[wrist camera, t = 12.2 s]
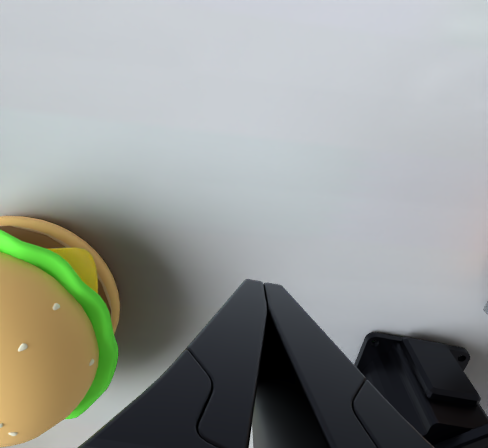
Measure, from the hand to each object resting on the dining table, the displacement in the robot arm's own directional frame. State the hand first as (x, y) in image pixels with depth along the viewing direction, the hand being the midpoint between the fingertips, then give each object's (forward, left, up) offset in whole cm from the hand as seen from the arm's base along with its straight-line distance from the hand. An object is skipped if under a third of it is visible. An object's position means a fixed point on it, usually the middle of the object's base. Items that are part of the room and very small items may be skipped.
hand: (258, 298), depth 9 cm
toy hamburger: (-10, +11, -12) cm, 19 cm away
